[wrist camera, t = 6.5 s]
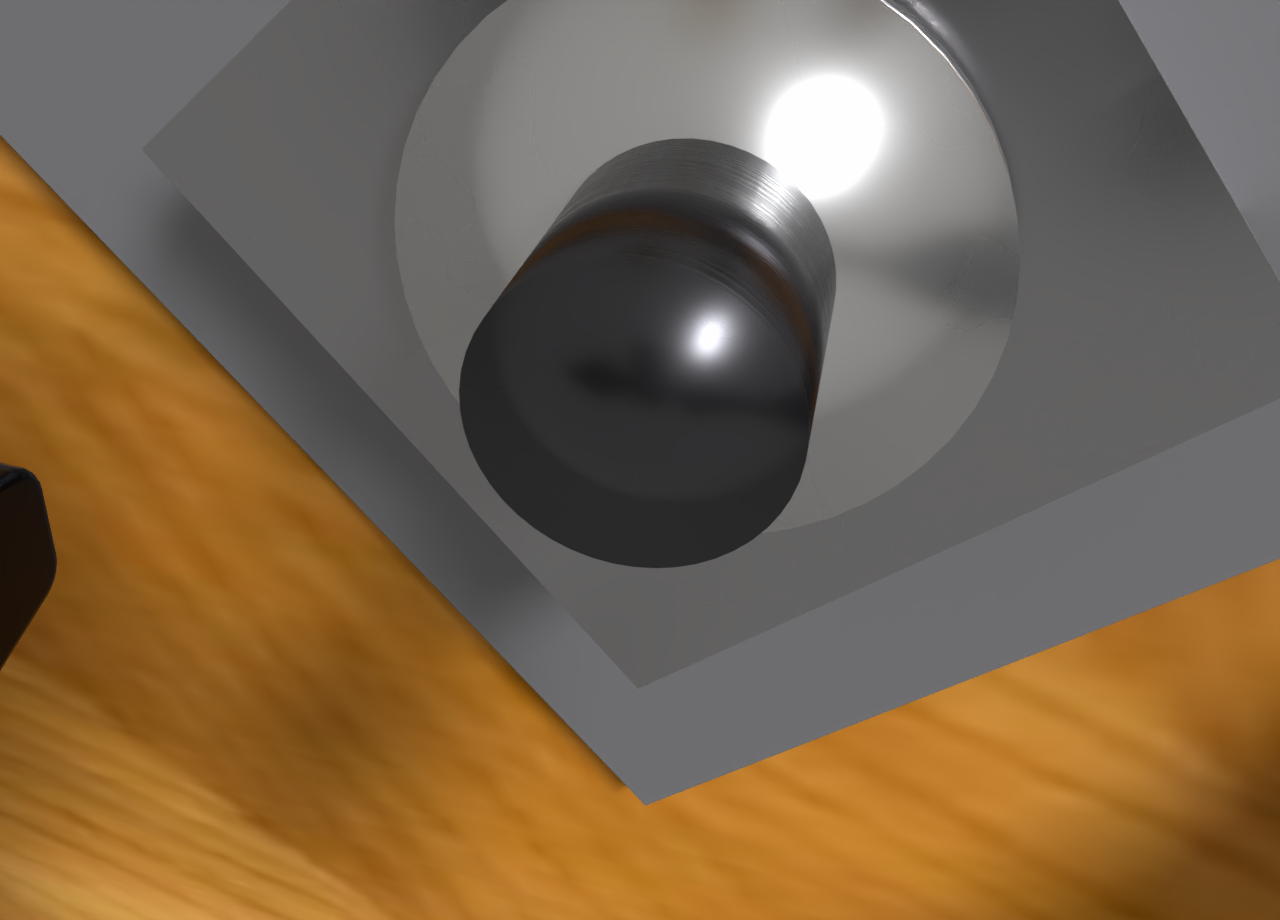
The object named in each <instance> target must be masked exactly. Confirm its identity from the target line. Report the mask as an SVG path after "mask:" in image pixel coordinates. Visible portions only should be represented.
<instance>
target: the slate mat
mask: <svg viewBox="0 0 1280 920" xmlns="http://www.w3.org/2000/svg"><path fill="white" fill-rule="evenodd" d="M290 1H291V0H0V135H1V136H2V137H3V138H4V139H5V140H6V141H7V142H8V144H9V145H10V146H11V147H12V148H13V149H14V150H15V151H16V152H17V153H18V154H19V155H20V156H21V157H22V158H23V159H24V160H25V161H26V162H27V163H28V164H29V165H30V166H31V167H32V168H33V169H34V171H35V172H36V173H37V174H38V175H39V176H40V177H41V178H42V179H43V180H44V181H45V182H46V183H47V184H48V185H49V186H50V187H51V188H52V189H53V190H54V191H55V192H56V193H57V194H58V195H59V197H60V198H61V199H62V200H63V201H64V202H65V203H66V204H67V205H68V206H69V207H70V208H71V209H72V210H73V211H74V212H75V213H76V214H77V215H78V216H79V217H80V218H81V219H82V220H83V221H84V222H85V224H86V225H87V226H88V227H89V228H90V229H91V230H92V231H93V232H94V233H95V234H96V235H97V236H98V237H99V238H100V239H101V240H102V241H103V242H104V243H105V244H106V245H107V246H108V247H109V248H110V250H111V251H112V252H113V253H114V254H115V255H116V256H117V257H118V258H119V259H120V260H121V261H122V262H123V263H124V264H125V265H126V266H127V267H128V268H129V269H130V270H131V271H132V272H133V273H134V274H135V275H136V277H137V278H138V279H139V280H140V281H141V282H142V283H143V284H144V285H145V286H146V287H147V288H148V289H149V290H150V291H151V292H152V293H153V294H154V295H155V296H156V297H157V298H158V299H159V300H160V301H161V303H162V304H163V305H164V306H165V307H166V308H167V309H168V310H169V311H170V312H171V313H172V314H173V315H174V316H175V317H176V318H177V319H178V320H179V321H180V322H181V323H182V324H183V325H184V326H185V327H186V328H187V330H188V331H189V332H190V333H191V334H192V335H193V336H194V337H195V338H196V339H197V340H198V341H199V342H200V343H201V344H202V345H203V346H204V347H205V348H206V349H207V350H208V351H209V352H210V353H211V354H212V356H213V357H214V358H215V359H216V360H217V361H218V362H219V363H220V364H221V365H222V366H223V367H224V368H225V369H226V370H227V371H228V372H229V373H230V374H231V375H232V376H233V377H234V378H235V379H236V380H237V381H238V383H239V384H240V385H241V386H242V387H243V388H244V389H245V390H246V391H247V392H248V393H249V394H250V395H251V396H252V397H253V398H254V399H255V400H256V401H257V402H258V403H259V404H260V405H261V406H262V407H263V409H264V410H265V411H266V412H267V413H268V414H269V415H270V416H271V417H272V418H273V419H274V420H275V421H276V422H277V423H278V424H279V425H280V426H281V427H282V428H283V429H284V430H285V431H286V432H287V433H288V434H289V436H290V437H291V438H292V439H293V440H294V441H295V442H296V443H297V444H298V445H299V446H300V447H301V448H302V449H303V450H304V451H305V452H306V453H307V454H308V455H309V456H310V457H311V458H312V459H313V460H314V462H315V463H316V464H317V465H318V466H319V467H320V468H321V469H322V470H323V471H324V472H325V473H326V474H327V475H328V476H329V477H330V478H331V479H332V480H333V481H334V482H335V483H336V484H337V485H338V486H339V487H340V489H341V490H342V491H343V492H344V493H345V494H346V495H347V496H348V497H349V498H350V499H351V500H352V501H353V502H354V503H355V504H356V505H357V506H358V507H359V508H360V509H361V510H362V511H363V512H364V513H365V515H366V516H367V517H368V518H369V519H370V520H371V521H372V522H373V523H374V524H375V525H376V526H377V527H378V528H379V529H380V530H381V531H382V532H383V533H384V534H385V535H386V536H387V537H388V538H389V539H390V540H391V542H392V543H393V544H394V545H395V546H396V547H397V548H398V549H399V550H400V551H401V552H402V553H403V554H404V555H405V556H406V557H407V558H408V559H409V560H410V561H411V562H412V563H413V564H414V565H415V566H416V568H417V569H418V570H419V571H420V572H421V573H422V574H423V575H424V576H425V577H426V578H427V579H428V580H429V581H430V582H431V583H432V584H433V585H434V586H435V587H436V588H437V589H438V590H439V591H440V592H441V593H442V595H443V596H444V597H445V598H446V599H447V600H448V601H449V602H450V603H451V604H452V605H453V606H454V607H455V608H456V609H457V610H458V611H459V612H460V613H461V614H462V615H463V616H464V617H465V618H466V619H467V621H468V622H469V623H470V624H471V625H472V626H473V627H474V628H475V629H476V630H477V631H478V632H479V633H480V634H481V635H482V636H483V637H484V638H485V639H486V640H487V641H488V642H489V643H490V644H491V645H492V646H493V648H494V649H495V650H496V651H497V652H498V653H499V654H500V655H501V656H502V657H503V658H504V659H505V660H506V661H507V662H508V663H509V664H510V665H511V666H512V667H513V668H514V669H515V670H516V671H517V672H518V674H519V675H520V676H521V677H522V678H523V679H524V680H525V681H526V682H527V683H528V684H529V685H530V686H531V687H532V688H533V689H534V690H535V691H536V692H537V693H538V694H539V695H540V696H541V697H542V698H543V699H544V701H545V702H546V703H547V704H548V705H549V706H550V707H551V708H552V709H553V710H554V711H555V712H556V713H557V714H558V715H559V716H560V717H561V718H562V719H563V720H564V721H565V722H566V723H567V724H568V725H569V727H570V728H571V729H572V730H573V731H574V732H575V733H576V734H577V735H578V736H579V737H580V738H581V739H582V740H583V741H584V742H585V743H586V744H587V745H588V746H589V747H590V748H591V749H592V750H593V751H594V752H595V754H596V755H597V756H598V757H599V758H600V759H601V760H602V761H603V762H604V763H605V764H606V765H607V766H608V767H609V768H610V769H611V770H612V771H613V772H614V773H615V774H616V775H617V776H618V777H619V778H620V780H621V781H622V782H623V783H624V784H625V785H626V786H627V787H628V788H629V789H630V790H631V791H632V792H633V793H634V794H635V795H636V796H637V797H638V798H639V799H640V800H641V801H642V802H643V803H644V804H645V805H648V804H650V803H653V802H655V801H658V800H661V799H663V798H666V797H668V796H671V795H673V794H676V793H679V792H681V791H684V790H686V789H689V788H691V787H694V786H697V785H699V784H702V783H704V782H707V781H709V780H712V779H715V778H717V777H720V776H722V775H725V774H727V773H730V772H733V771H735V770H738V769H740V768H743V767H745V766H748V765H751V764H753V763H756V762H758V761H761V760H763V759H766V758H768V757H771V756H774V755H776V754H779V753H781V752H784V751H786V750H789V749H792V748H794V747H797V746H799V745H802V744H804V743H807V742H810V741H812V740H815V739H817V738H820V737H822V736H825V735H828V734H830V733H833V732H835V731H838V730H840V729H843V728H846V727H848V726H851V725H853V724H856V723H858V722H861V721H864V720H866V719H869V718H871V717H874V716H876V715H879V714H882V713H884V712H887V711H889V710H892V709H894V708H897V707H899V706H902V705H905V704H907V703H910V702H912V701H915V700H917V699H920V698H923V697H925V696H928V695H930V694H933V693H935V692H938V691H941V690H943V689H946V688H948V687H951V686H953V685H956V684H959V683H961V682H964V681H966V680H969V679H971V678H974V677H977V676H979V675H982V674H984V673H987V672H989V671H992V670H995V669H997V668H1000V667H1002V666H1005V665H1007V664H1010V663H1013V662H1015V661H1018V660H1020V659H1023V658H1025V657H1028V656H1030V655H1033V654H1036V653H1038V652H1041V651H1043V650H1046V649H1048V648H1051V647H1054V646H1056V645H1059V644H1061V643H1064V642H1066V641H1069V640H1072V639H1074V638H1077V637H1079V636H1082V635H1084V634H1087V633H1090V632H1092V631H1095V630H1097V629H1100V628H1102V627H1105V626H1108V625H1110V624H1113V623H1115V622H1118V621H1120V620H1123V619H1126V618H1128V617H1131V616H1133V615H1136V614H1138V613H1141V612H1144V611H1146V610H1149V609H1151V608H1154V607H1156V606H1159V605H1162V604H1164V603H1167V602H1169V601H1172V600H1174V599H1177V598H1179V597H1182V596H1185V595H1187V594H1190V593H1192V592H1195V591H1197V590H1200V589H1203V588H1205V587H1208V586H1210V585H1213V584H1215V583H1218V582H1221V581H1223V580H1226V579H1228V578H1231V577H1233V576H1236V575H1239V574H1241V573H1244V572H1246V571H1249V570H1251V569H1254V568H1257V567H1259V566H1262V565H1264V564H1267V563H1269V562H1272V561H1275V560H1277V559H1280V399H1278V400H1276V401H1274V402H1271V403H1269V404H1267V405H1265V406H1263V407H1260V408H1258V409H1256V410H1254V411H1251V412H1249V413H1247V414H1245V415H1243V416H1240V417H1238V418H1236V419H1234V420H1232V421H1229V422H1227V423H1225V424H1223V425H1221V426H1218V427H1216V428H1214V429H1212V430H1209V431H1207V432H1205V433H1203V434H1201V435H1198V436H1196V437H1194V438H1192V439H1190V440H1187V441H1185V442H1183V443H1181V444H1179V445H1176V446H1174V447H1172V448H1170V449H1167V450H1165V451H1163V452H1161V453H1159V454H1156V455H1154V456H1152V457H1150V458H1148V459H1145V460H1143V461H1141V462H1139V463H1137V464H1134V465H1132V466H1130V467H1128V468H1125V469H1123V470H1121V471H1119V472H1117V473H1114V474H1112V475H1110V476H1108V477H1106V478H1103V479H1101V480H1099V481H1097V482H1094V483H1092V484H1090V485H1088V486H1086V487H1083V488H1081V489H1079V490H1077V491H1075V492H1072V493H1070V494H1068V495H1066V496H1064V497H1061V498H1059V499H1057V500H1055V501H1052V502H1050V503H1048V504H1046V505H1044V506H1041V507H1039V508H1037V509H1035V510H1033V511H1030V512H1028V513H1026V514H1024V515H1022V516H1019V517H1017V518H1015V519H1013V520H1010V521H1008V522H1006V523H1004V524H1002V525H999V526H997V527H995V528H993V529H991V530H988V531H986V532H984V533H982V534H979V535H977V536H975V537H973V538H971V539H968V540H966V541H964V542H962V543H960V544H957V545H955V546H953V547H951V548H949V549H946V550H944V551H942V552H940V553H937V554H935V555H933V556H931V557H929V558H926V559H924V560H922V561H920V562H918V563H915V564H913V565H911V566H909V567H907V568H904V569H902V570H900V571H898V572H895V573H893V574H891V575H889V576H887V577H884V578H882V579H880V580H878V581H876V582H873V583H871V584H869V585H867V586H864V587H862V588H860V589H858V590H856V591H853V592H851V593H849V594H847V595H845V596H842V597H840V598H838V599H836V600H834V601H831V602H829V603H827V604H825V605H822V606H820V607H818V608H816V609H814V610H811V611H809V612H807V613H805V614H803V615H800V616H798V617H796V618H794V619H792V620H789V621H787V622H785V623H783V624H780V625H778V626H776V627H774V628H772V629H769V630H767V631H765V632H763V633H761V634H758V635H756V636H754V637H752V638H749V639H747V640H745V641H743V642H741V643H738V644H736V645H734V646H732V647H730V648H727V649H725V650H723V651H721V652H719V653H716V654H714V655H712V656H710V657H707V658H705V659H703V660H701V661H699V662H696V663H694V664H692V665H690V666H688V667H685V668H683V669H681V670H679V671H677V672H674V673H672V674H670V675H668V676H665V677H663V678H661V679H659V680H657V681H654V682H652V683H650V684H648V685H646V686H643V687H641V688H639V689H638V688H637V687H636V686H635V685H634V684H633V683H632V682H631V681H630V679H629V678H628V677H627V676H626V675H625V674H624V673H623V672H622V671H621V670H620V669H619V668H618V666H617V665H616V664H615V663H614V662H613V661H612V660H611V659H610V658H609V657H608V656H607V654H606V653H605V652H604V651H603V650H602V649H601V648H600V647H599V646H598V645H597V644H596V643H595V641H594V640H593V639H592V638H591V637H590V636H589V635H588V634H587V633H586V632H585V631H584V629H583V628H582V627H581V626H580V625H579V624H578V623H577V622H576V621H575V620H574V619H573V618H572V616H571V615H570V614H569V613H568V612H567V611H566V610H565V609H564V608H563V607H562V606H561V605H560V603H559V602H558V601H557V600H556V599H555V598H554V597H553V596H552V595H551V594H550V593H549V591H548V590H547V589H546V588H545V587H544V586H543V585H542V584H541V583H540V582H539V581H538V580H537V578H536V577H535V576H534V575H533V574H532V573H531V572H530V571H529V570H528V569H527V568H526V566H525V565H524V564H523V563H522V562H521V561H520V560H519V559H518V558H517V557H516V556H515V555H514V553H513V552H512V551H511V550H510V549H509V548H508V547H507V546H506V545H505V544H504V543H503V542H502V540H501V539H500V538H499V537H498V536H497V535H496V534H495V533H494V532H493V531H492V530H491V528H490V527H489V526H488V525H487V524H486V523H485V522H484V521H483V520H482V519H481V518H480V517H479V515H478V514H477V513H476V512H475V511H474V510H473V509H472V508H471V507H470V506H469V505H468V504H467V502H466V501H465V500H464V499H463V498H462V497H461V496H460V495H459V494H458V493H457V492H456V490H455V489H454V488H453V487H452V486H451V485H450V484H449V483H448V482H447V481H446V480H445V479H444V477H443V476H442V475H441V474H440V473H439V472H438V471H437V470H436V469H435V468H434V467H433V465H432V464H431V463H430V462H429V461H428V460H427V459H426V458H425V457H424V456H423V455H422V454H421V452H420V451H419V450H418V449H417V448H416V447H415V446H414V445H413V444H412V443H411V442H410V441H409V439H408V438H407V437H406V436H405V435H404V434H403V433H402V432H401V431H400V430H399V429H398V427H397V426H396V425H395V424H394V423H393V422H392V421H391V420H390V419H389V418H388V417H387V416H386V414H385V413H384V412H383V411H382V410H381V409H380V408H379V407H378V406H377V405H376V404H375V402H374V401H373V400H372V399H371V398H370V397H369V396H368V395H367V394H366V393H365V392H364V391H363V389H362V388H361V387H360V386H359V385H358V384H357V383H356V382H355V381H354V380H353V379H352V378H351V376H350V375H349V374H348V373H347V372H346V371H345V370H344V369H343V368H342V367H341V366H340V364H339V363H338V362H337V361H336V360H335V359H334V358H333V357H332V356H331V355H330V354H329V353H328V351H327V350H326V349H325V348H324V347H323V346H322V345H321V344H320V343H319V342H318V341H317V340H316V338H315V337H314V336H313V335H312V334H311V333H310V332H309V331H308V330H307V329H306V328H305V326H304V325H303V324H302V323H301V322H300V321H299V320H298V319H297V318H296V317H295V316H294V315H293V313H292V312H291V311H290V310H289V309H288V308H287V307H286V306H285V305H284V304H283V303H282V301H281V300H280V299H279V298H278V297H277V296H276V295H275V294H274V293H273V292H272V291H271V290H270V288H269V287H268V286H267V285H266V284H265V283H264V282H263V281H262V280H261V279H260V278H259V277H258V275H257V274H256V273H255V272H254V271H253V270H252V269H251V268H250V267H249V266H248V265H247V263H246V262H245V261H244V260H243V259H242V258H241V257H240V256H239V255H238V254H237V253H236V252H235V250H234V249H233V248H232V247H231V246H230V245H229V244H228V243H227V242H226V241H225V240H224V239H223V237H222V236H221V235H220V234H219V233H218V232H217V231H216V230H215V229H214V228H213V227H212V225H211V224H210V223H209V222H208V221H207V220H206V219H205V218H204V217H203V216H202V215H201V214H200V212H199V211H198V210H197V209H196V208H195V207H194V206H193V205H192V204H191V203H190V202H189V200H188V199H187V198H186V197H185V196H184V195H183V194H182V193H181V192H180V191H179V190H178V189H177V187H176V186H175V185H174V184H173V183H172V182H171V181H170V180H169V179H168V178H167V177H166V176H165V174H164V173H163V172H162V171H161V170H160V169H159V168H158V167H157V166H156V165H155V164H154V162H153V161H152V160H151V159H150V158H149V157H148V156H147V155H146V154H145V153H144V152H143V151H142V148H143V147H144V146H145V145H146V144H147V143H148V142H149V141H150V140H151V139H152V138H153V137H154V136H155V135H156V134H157V133H158V132H159V131H160V130H161V129H162V128H163V127H164V126H165V125H166V124H167V123H168V122H169V121H170V120H171V119H172V118H173V117H174V116H175V115H176V114H177V113H178V112H179V111H180V110H182V109H183V108H184V107H185V106H186V105H187V104H188V103H189V102H190V101H191V100H192V99H193V98H194V97H195V96H196V95H197V94H198V93H199V92H200V91H201V90H202V89H203V88H204V87H205V86H206V85H207V84H208V83H209V82H210V81H211V80H212V79H213V78H214V77H215V76H216V75H217V74H218V73H219V72H220V71H221V70H222V69H223V68H224V67H225V66H226V65H227V64H228V63H229V62H230V61H231V60H232V59H233V58H234V57H235V56H236V55H237V54H238V53H239V52H240V51H241V50H242V49H243V48H244V47H245V46H246V45H247V44H248V43H249V42H250V41H251V40H252V39H253V38H254V37H255V36H256V35H257V34H258V33H259V32H260V31H261V30H262V29H263V28H264V27H265V26H266V25H267V24H268V23H269V22H270V21H271V20H272V19H273V18H274V17H275V16H276V15H277V14H278V13H279V12H280V11H281V10H282V9H283V8H284V7H285V6H286V5H287V4H288V3H289V2H290ZM1120 1H1121V3H1122V5H1123V6H1124V8H1125V10H1126V12H1127V13H1128V15H1129V17H1130V19H1131V20H1132V22H1133V24H1134V26H1135V27H1136V29H1137V31H1138V33H1139V34H1140V36H1141V38H1142V40H1143V41H1144V43H1145V45H1146V46H1147V48H1148V50H1149V52H1150V53H1151V55H1152V57H1153V59H1154V60H1155V62H1156V64H1157V66H1158V67H1159V69H1160V71H1161V73H1162V74H1163V76H1164V78H1165V80H1166V81H1167V83H1168V85H1169V87H1170V88H1171V90H1172V92H1173V94H1174V95H1175V97H1176V99H1177V101H1178V102H1179V104H1180V106H1181V108H1182V109H1183V111H1184V113H1185V114H1186V116H1187V118H1188V120H1189V121H1190V123H1191V125H1192V127H1193V128H1194V130H1195V132H1196V134H1197V135H1198V137H1199V139H1200V141H1201V142H1202V144H1203V146H1204V148H1205V149H1206V151H1207V153H1208V155H1209V156H1210V158H1211V160H1212V162H1213V163H1214V165H1215V167H1216V169H1217V170H1218V172H1219V174H1220V176H1221V177H1222V179H1223V181H1224V182H1225V184H1226V186H1227V188H1228V189H1229V191H1230V193H1231V195H1232V196H1233V198H1234V200H1235V202H1236V203H1237V205H1238V207H1239V209H1240V210H1241V212H1242V214H1243V216H1244V217H1245V219H1246V221H1247V223H1248V225H1249V226H1250V228H1251V230H1252V232H1253V233H1254V235H1255V237H1256V239H1257V241H1258V242H1259V244H1260V246H1261V248H1262V249H1263V251H1264V253H1265V255H1266V256H1267V258H1268V260H1269V262H1270V264H1271V265H1272V267H1273V269H1274V271H1275V272H1276V274H1277V276H1278V278H1279V280H1280V0H1120Z"/></svg>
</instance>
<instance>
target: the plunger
mask: <svg viewBox="0 0 1280 920" xmlns="http://www.w3.org/2000/svg"><path fill="white" fill-rule="evenodd" d="M394 223H395V237H396V250H397V261H398V266H399V271H400V276H401V280H402V285H403V290H404V295H405V298H406V301H407V304H408V307H409V310H410V313H411V316H412V319H413V322H414V325H415V328H416V330H417V333H418V335H419V337H420V339H421V341H422V343H423V345H424V347H425V349H426V351H427V353H428V356H429V358H430V360H431V362H432V364H433V365H434V367H435V368H436V370H437V372H438V373H439V375H440V376H441V378H442V379H443V381H444V383H445V384H446V386H447V387H448V389H449V391H450V392H451V394H452V395H453V396H454V397H455V399H456V400H457V401H458V402H459V404H460V413H461V418H462V423H463V429H464V432H465V435H466V438H467V441H468V444H469V447H470V449H471V452H472V454H473V456H474V458H475V460H476V462H477V464H478V466H479V468H480V469H481V471H482V473H483V474H484V476H485V477H486V479H487V480H488V482H489V484H490V485H491V486H492V487H493V489H494V490H495V491H496V492H497V494H498V495H499V496H500V497H501V499H502V500H503V501H504V502H505V503H506V504H507V505H508V506H509V507H510V508H511V509H512V510H513V511H514V512H515V513H516V514H517V515H518V516H520V517H521V518H522V519H523V520H525V521H526V522H527V523H528V524H530V525H531V526H532V527H533V528H535V529H536V530H538V531H539V532H541V533H542V534H544V535H545V536H547V537H548V538H550V539H552V540H553V541H555V542H557V543H559V544H561V545H563V546H565V547H567V548H569V549H571V550H573V551H576V552H578V553H581V554H584V555H586V556H589V557H591V558H595V559H598V560H602V561H606V562H609V563H613V564H619V565H625V566H631V567H642V568H673V567H681V566H687V565H694V564H698V563H702V562H705V561H709V560H712V559H716V558H718V557H721V556H723V555H725V554H728V553H730V552H732V551H735V550H736V549H738V548H740V547H741V546H743V545H745V544H747V543H748V542H750V541H752V540H753V539H754V538H755V537H757V536H758V535H759V534H761V533H766V532H772V531H779V530H785V529H791V528H797V527H800V526H804V525H807V524H811V523H814V522H818V521H821V520H825V519H828V518H832V517H834V516H837V515H839V514H841V513H844V512H846V511H849V510H851V509H853V508H856V507H858V506H861V505H863V504H865V503H867V502H869V501H871V500H872V499H874V498H876V497H878V496H879V495H881V494H883V493H885V492H886V491H888V490H890V489H892V488H893V487H895V486H897V485H898V484H899V483H901V482H902V481H903V480H905V479H906V478H907V477H909V476H910V475H911V474H913V473H914V472H915V471H917V470H918V469H919V468H921V467H922V466H923V465H925V464H926V463H927V462H928V461H929V460H930V459H931V458H932V457H933V456H934V455H935V454H936V453H937V452H938V451H939V450H940V449H941V448H942V447H943V446H944V445H945V444H946V443H947V442H948V441H949V440H950V439H951V438H952V437H953V436H954V434H955V433H956V432H957V431H958V429H959V428H960V427H961V425H962V424H963V423H964V422H965V420H966V419H967V418H968V416H969V415H970V414H971V413H972V411H973V410H974V409H975V407H976V405H977V403H978V402H979V400H980V398H981V397H982V395H983V393H984V391H985V390H986V388H987V386H988V384H989V383H990V381H991V379H992V377H993V375H994V373H995V370H996V368H997V365H998V363H999V360H1000V358H1001V355H1002V353H1003V350H1004V348H1005V345H1006V343H1007V340H1008V336H1009V332H1010V328H1011V324H1012V319H1013V315H1014V311H1015V307H1016V303H1017V292H1018V281H1019V270H1020V250H1019V233H1018V218H1017V211H1016V204H1015V199H1014V194H1013V189H1012V184H1011V179H1010V175H1009V170H1008V165H1007V161H1006V158H1005V156H1004V153H1003V150H1002V147H1001V145H1000V142H999V139H998V136H997V134H996V131H995V128H994V126H993V123H992V121H991V119H990V117H989V115H988V113H987V111H986V110H985V108H984V106H983V104H982V102H981V100H980V98H979V97H978V95H977V93H976V91H975V89H974V87H973V86H972V84H971V82H970V81H969V80H968V78H967V77H966V76H965V74H964V73H963V71H962V70H961V69H960V67H959V66H958V65H957V63H956V62H955V61H954V59H953V58H952V57H951V55H950V54H949V53H948V51H947V50H946V49H945V47H944V46H943V45H942V44H941V43H940V42H939V41H938V40H937V39H936V38H935V37H934V36H933V35H932V34H931V33H930V32H929V31H928V30H927V29H926V28H925V27H924V26H923V25H922V24H921V23H920V22H919V21H918V20H917V19H916V18H915V17H914V16H913V15H912V14H910V13H909V12H908V11H906V10H905V9H904V8H903V7H901V6H900V5H899V4H897V3H896V2H895V1H893V0H507V1H506V2H505V3H503V4H502V5H501V6H499V7H498V8H497V9H495V10H494V11H493V12H491V13H490V14H489V15H487V16H486V17H485V18H484V19H483V20H482V21H481V22H480V23H479V24H478V25H477V26H476V27H475V28H474V29H473V31H472V32H471V33H470V34H469V35H468V36H467V37H466V38H465V39H464V40H463V41H462V42H461V43H460V44H459V45H458V46H457V47H456V49H455V50H454V52H453V53H452V54H451V56H450V57H449V58H448V60H447V61H446V63H445V64H444V65H443V67H442V68H441V69H440V71H439V72H438V74H437V75H436V76H435V78H434V80H433V82H432V84H431V86H430V87H429V89H428V91H427V93H426V95H425V97H424V99H423V101H422V103H421V105H420V107H419V109H418V110H417V112H416V115H415V118H414V121H413V124H412V127H411V130H410V133H409V135H408V138H407V141H406V144H405V147H404V151H403V156H402V161H401V166H400V171H399V176H398V181H397V187H396V205H395V222H394Z"/></svg>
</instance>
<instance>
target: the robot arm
mask: <svg viewBox="0 0 1280 920" xmlns="http://www.w3.org/2000/svg"><path fill="white" fill-rule="evenodd" d="M56 565H57V558H56V552H55V547H54V542H53V538H52V533H51V529H50V524H49V519H48V515H47V510H46V506H45V501H44V496H43V492H42V488H41V485H40V482H39V481H38V479H37V478H36V477H35V475H34V474H33V473H32V472H30V471H28V470H27V469H24V468H21V467H17V466H13V465H8V464H4V463H0V670H1V669H2V667H3V666H4V664H5V662H6V661H7V659H8V658H9V656H10V654H11V653H12V651H13V649H14V648H15V646H16V645H17V643H18V641H19V640H20V638H21V637H22V635H23V633H24V632H25V630H26V629H27V627H28V625H29V624H30V622H31V621H32V619H33V617H34V616H35V614H36V612H37V611H38V609H39V608H40V606H41V604H42V603H43V601H44V600H45V598H46V596H47V595H48V593H49V591H50V589H51V586H52V584H53V581H54V578H55V573H56Z"/></svg>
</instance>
